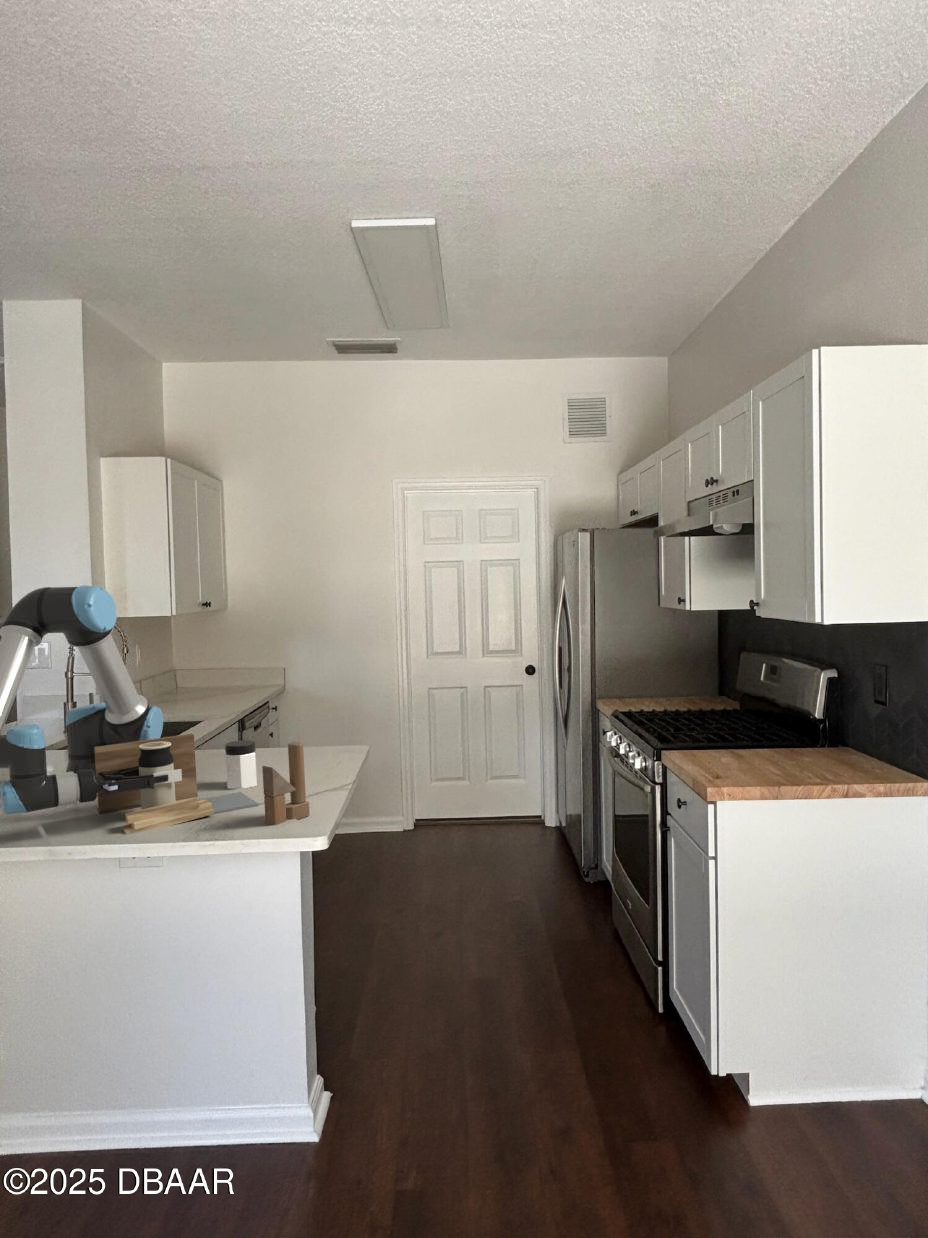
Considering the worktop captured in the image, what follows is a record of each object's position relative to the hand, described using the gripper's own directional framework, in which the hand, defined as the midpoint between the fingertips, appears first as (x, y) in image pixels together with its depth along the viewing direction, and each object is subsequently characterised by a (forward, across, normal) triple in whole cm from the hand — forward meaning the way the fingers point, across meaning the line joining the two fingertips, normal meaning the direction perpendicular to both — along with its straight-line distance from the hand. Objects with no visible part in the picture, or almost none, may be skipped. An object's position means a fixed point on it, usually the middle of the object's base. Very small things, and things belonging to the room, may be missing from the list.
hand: (176, 771), depth 206 cm
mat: (+10, +2, -10) cm, 15 cm away
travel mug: (-5, 0, -11) cm, 12 cm away
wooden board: (-5, -11, -10) cm, 16 cm away
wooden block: (+19, +24, -11) cm, 33 cm away
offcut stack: (-5, +9, -10) cm, 14 cm away
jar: (+21, -16, -11) cm, 29 cm away
